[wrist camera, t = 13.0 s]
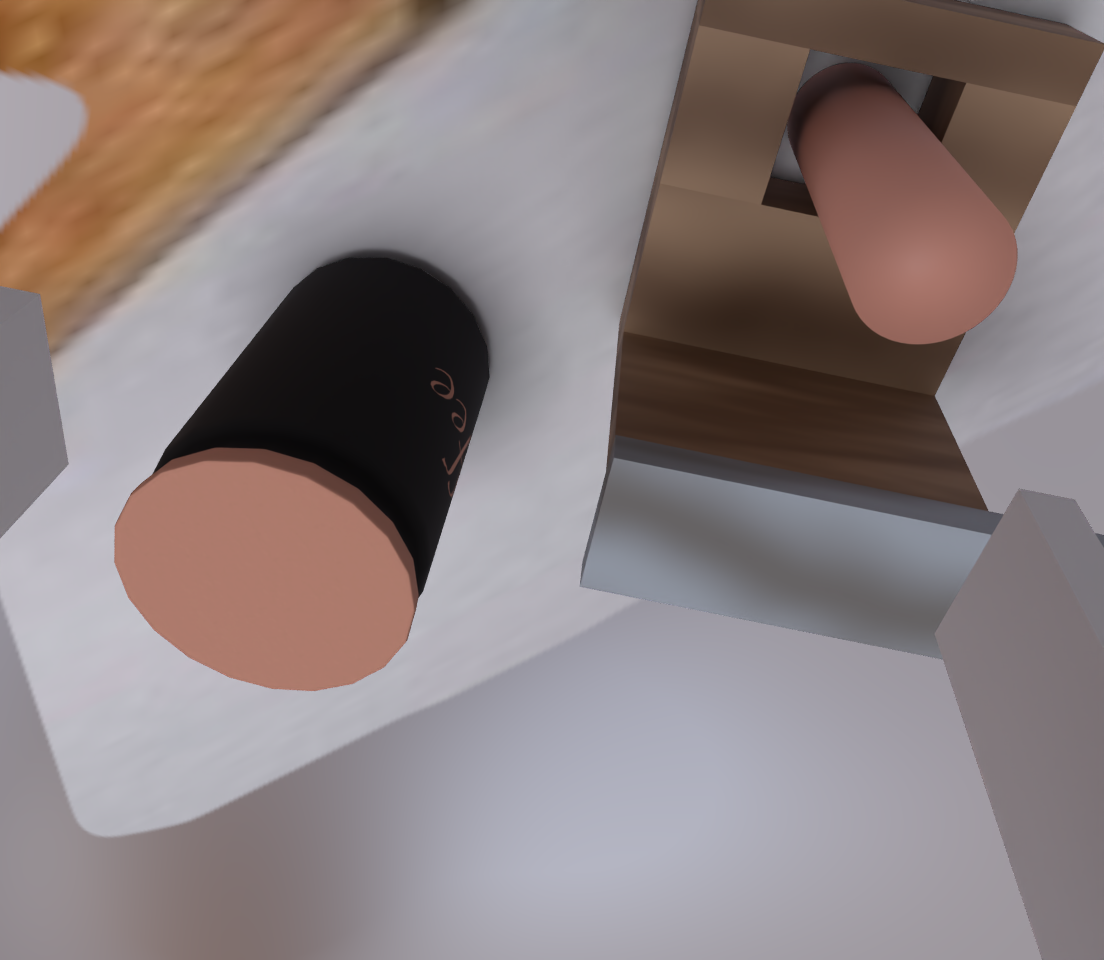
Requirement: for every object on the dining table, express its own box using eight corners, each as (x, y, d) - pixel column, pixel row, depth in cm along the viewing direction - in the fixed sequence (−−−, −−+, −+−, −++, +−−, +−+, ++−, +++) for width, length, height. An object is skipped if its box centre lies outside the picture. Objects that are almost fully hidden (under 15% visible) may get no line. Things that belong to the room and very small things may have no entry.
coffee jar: (447, 467, 51) (360, 728, 36) (260, 385, 49) (89, 626, 34) (527, 307, 45) (461, 542, 30) (318, 207, 43) (140, 407, 28)
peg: (807, 52, 37) (884, 176, 24) (914, 75, 37) (1047, 211, 24) (773, 161, 40) (825, 327, 27) (873, 182, 40) (974, 358, 27)
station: (697, -56, 36) (723, 42, 20) (1078, 27, 36) (1397, 186, 20) (609, 320, 45) (579, 586, 29) (912, 382, 45) (1043, 679, 30)
